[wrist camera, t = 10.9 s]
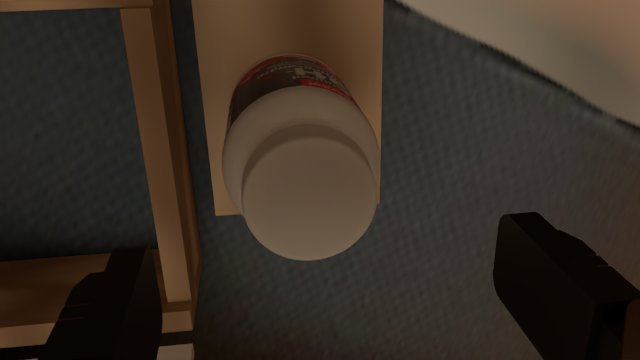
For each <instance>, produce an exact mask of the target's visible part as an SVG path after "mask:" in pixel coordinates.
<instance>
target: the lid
mask: <svg viewBox="0 0 640 360" xmlns="http://www.w3.org/2000/svg"><path fill="white" fill-rule="evenodd" d="M28 360H38V359H28ZM156 360H194V348H193V344H183V345H173V346H162V347H159V349H158V354H157V359H156Z"/></svg>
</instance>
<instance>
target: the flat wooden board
mask: <svg viewBox="0 0 640 360" xmlns="http://www.w3.org/2000/svg"><path fill="white" fill-rule="evenodd" d="M191 2H192V11H193V20H194V29H195V38H196V46H197V55H198V64H199V73H200V82H201V90H202V99H203V108H204V117H205V126H206V135H207V143H208V152H209V161H210V170H211V179H212V187H213V196H214V205H215V214H216V216H222V215H235V214H241V213H240V212H239V211H238V210H237V208H236V207H235V206H234V204H233V203H232V201H231V199H230V197H229V195H228V193H227V190H226V187H225V184H224V180H223V173H222V150H223V146H224V140H225V134H226V127H227V120H228V114H229V106H230V102H231V98H232V94H233V92H234V89H235V87H236V85H237V83H238V81H239V80H240V78H241V77H242V76H243V75H244V73H245V72H246V71H247V70H248V69H249V68H251V67H252V66H253V65H254V64H256V63H258V62H259V61H261V60H263V59H265V58H267V57H270V56H273V55H277V54H283V53H298V54H303V55H307V56H310V57H313V58H315V59H318V60H319V61H321V62H323V63H324V64H326V65H327V66H328V67H329V68H331V69H332V70H333V71H334V72H335V73H336V74H337V75H338V77H339V78H340V79H341V81H342V82H343V84H344V85H345V87H346V88H347V89H348V91H349V93H350V94H351V96H352V97H353V99H354V100H355V102H356V103H357V105H358V106H359V108H360V109H361V111H362V112H363V114H364V115H365V116H366V118H367V119H368V121H369V122H370V124H371V126H372V128H373V130H374V132H375V135H376V138H377V141H378V145H379V151H380V160H381V107H382V55H383V3H384V0H191ZM377 204H380V173H379V178H378V182H377Z"/></svg>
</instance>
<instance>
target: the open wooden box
mask: <svg viewBox="0 0 640 360" xmlns="http://www.w3.org/2000/svg"><path fill="white" fill-rule="evenodd" d="M112 7H123V8H121V9H120V15H121V21H122V27H123V33H124V39H125V45H126V51H127V58H128V64H129V70H130V76H131V82H132V88H133V94H134V100H135V106H136V113H137V119H138V125H139V131H140V137H141V143H142V149H143V155H144V161H145V167H146V174H147V180H148V186H149V192H150V198H151V204H152V210H153V216H154V222H155V229H156V235H157V241H158V247H159V249H152V253H153V258H154V263H155V269H156V275H157V281H158V286H159V292H160V298H161V304H162V315H163V325H162V333H167V332H177V331H188V330H193V325H194V318H195V311H196V305H197V298H198V291H199V285H200V278H201V271H202V265H203V260H202V252H201V245H200V237H199V229H198V221H197V213H196V206H195V198H194V190H193V182H192V175H191V167H190V159H189V151H188V143H187V136H186V128H185V120H184V112H183V105H182V97H181V89H180V81H179V74H178V66H177V58H176V50H175V42H174V35H173V27H172V19H171V11H170V4H169V0H0V12H7V11H33V10H59V9H86V8H112ZM110 255H111V253H102V254H89V255H77V256H64V257H52V258H39V259H27V260H14V261H2V262H0V348H8V347H18V346H29V345H40V344H45V343H46V341H47V339H48V337H49V335H50V333H51V331H52V329H53V327H54V325H55V323H56V321H58V317H59V314H60V312H61V310H62V308H64V307H65V305H64V304H65V302H66V300H67V298H68V296H69V294H70V292H71V290H72V288H73V287H74V286H75V285H76V284H78V283H79V282H80V281H81V280H82V279H83V278H84V277H85V276H87V275H88V274H89V273H96V272H104V270H105V267H106V265H107V263H108V260H109V258H110Z"/></svg>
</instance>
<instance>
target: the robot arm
mask: <svg viewBox="0 0 640 360" xmlns="http://www.w3.org/2000/svg"><path fill="white" fill-rule="evenodd" d="M493 280H494V286H495V290H496V292H497V295H498V297H499V298H500V300H501V301H502V303H503V304H504V305H505V307H506V308H507V310H508V311H509V312H510V314H511V315H512V316H513V318H514V319H515V321H516V322H517V323H518V325H519V326H520V327H521V329H522V330H523V332H524V333H525V334H526V336H527V337H528V338H529V340H530V341H531V343H532V344H533V345H534V347H535V348H536V349H537V351H538V352H539V354H540V355H541V356H542V358H543V359H544V360H640V291H639V290H638V289H636V288H635V287H634V286H633V285H632V284H631V283H630V282H628V281H627V280H626V279H625V278H624V277H623V276H622V275H620V274H619V273H618V272H617V271H616V270H615V269H614V268H612V267H611V266H608V263H607V262H606V261H604V260H603V259H602V258H601V257H600V256H596V253H595V252H594V251H593V250H592V249H591V248H590V247H588V246H587V245H586V244H585V243H584V242H583V241H582V240H580V239H578V238H575V237H573V236H571V235H569V234H567V233H565V232H563V231H561V230H556V229H555V228H554V227H553V226H552V225H551V224H550V223H549V222H548V221H547V220H545V219H544V218H543V217H542V216H541V215H540V214H539V213H537V212H527V213H516V214H505V215H503V216H502V217H501V219H500V221H499V226H498V235H497V243H496V252H495V260H494V269H493ZM64 305H65V307H64V308H62V310H61V312H60V314H59V317H58V321H56V323H55V325H54V327H53V329H52V331H51V333H50V335H49V337H48V339H47V341H46V343H45V345H44V347H43V349H42V352H41V354H40V356H39V358H38V360H156V359H157V354H158V349H159V344H160V339H161V334H162V325H163V315H162V304H161V298H160V292H159V286H158V281H157V275H156V269H155V263H154V258H153V253H152V249H151V247H150V246H149V245H145V246H133V247H122V248H114V249H113V251H112V253H111V255H110V258H109V260H108V263H107V265H106V267H105V270H104V272H96V273H89V274H88V275H87V276H85V277H84V278H83V279H82V280H81V281H80V282H79V283H78V284H76V285H75V286H74V287H73V288H72V290H71V292H70V294H69V296H68V298H67V300H66V302H65V304H64Z"/></svg>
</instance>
